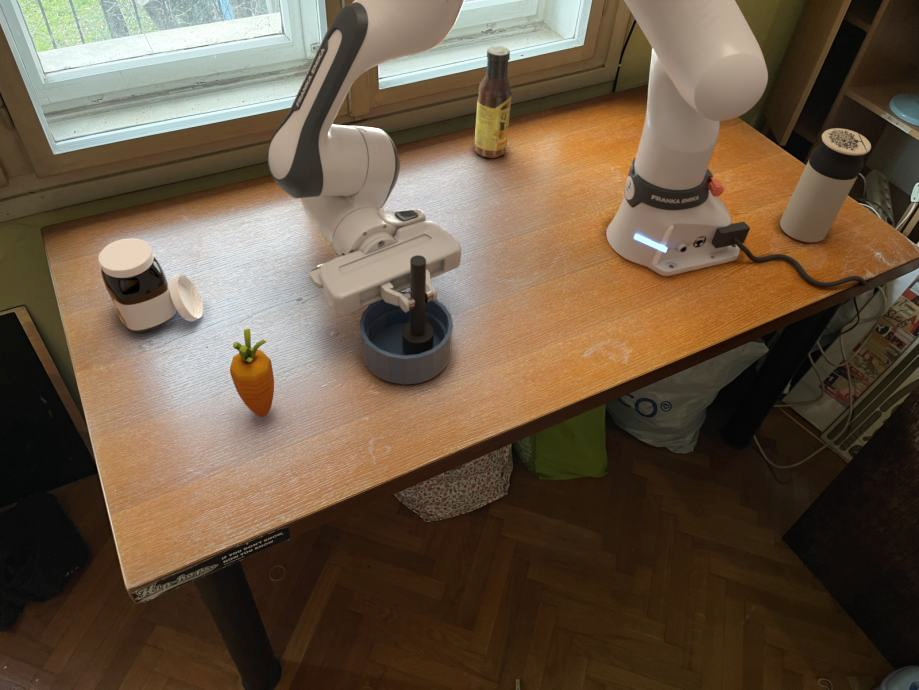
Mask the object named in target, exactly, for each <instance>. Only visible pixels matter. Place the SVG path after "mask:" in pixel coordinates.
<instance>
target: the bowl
mask: <svg viewBox="0 0 919 690" xmlns="http://www.w3.org/2000/svg"><path fill="white" fill-rule="evenodd" d="M399 293H401V294H406V293H409V294H410V291H400V292H399ZM408 322H411V310H410V311H408V312H406V313H405V312H404V311H403V310H402V309H401V307H400V306H396V305H393V304H390V303H387V302H385V301H384V300H383V299H381V300H379V301H376V302H374V303H372V304H369V305H367V307H366V308H365V309H364V310H363V312H362V313H361V316H360V319H359V322H358V325H359V336H360V337H359V338H360V348H361V349H360V350H361V359H362V361H363V363H364V365H365V366H366V368H367V369H368V371H370V373H372V374H373V375H374V376H376V378H379V379H381V380H384V381H387V382H388V383H393V384H399V385H413V384H420V383H423V382H426V381H429V380H431V379H433V378H435V377H436V376H438V375H439V374H440V373H442V372H443V371H444V370H445V368H446V367H447V365H448V364H449V363H450V360H451V355H452V351H453V333H454V323H453V318H452V315H451V313H450V311H449V310H448V308H447V307H446V306H445V305H444V304H443V303H441V302H440V301H439V300H438V299H436V300H433V301H431V302H429V303H426V304H425V322H427V323H429V324H430V325H431V326H432V327H433V330H434V339H433V349H431V350H429V351H426V352H423V353H420V354H415V355H407V354H406V353H405V352H404V351H403V348H402V329H403V327H404V326H405V325H406V324H407V323H408Z"/></svg>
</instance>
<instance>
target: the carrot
mask: <svg viewBox="0 0 919 690" xmlns="http://www.w3.org/2000/svg"><path fill="white" fill-rule="evenodd" d="M243 339H244V344H241V343H240V342H238V341H235V342H233V343H232V348H233V349H235V350H236V351H238V353H237V354H235V355H234V356H233V357H232V360H231V363H230V367H229V373H230V377H231V379H232V383H233V385H234V387H235V390H236V392H237V394H238V396H239V398H240V400H242V402H243V404H244V405H245V406H246V407H247V408H248V409H249V410H250V411H251V412H252V413H253V414H254V415H255V416H257V417H259V418H265V417H266V416H268V414H269V412H270V411H271V409H272V404H273V400H274V394H275V393H274V392H275V378H274V370H273V365H272V360H271V359H270V357H269V356H268V355H267V354H265V352H264V351H263V350H261V349H260V347H262V346H263V345H265V344H266V343H267V340H265V339H261V340H259V341H257V342H256V343H255V344H254V345H253V347H252V340H251V339H252V337H251V328H245V329H243Z"/></svg>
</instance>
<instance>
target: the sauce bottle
mask: <svg viewBox="0 0 919 690" xmlns="http://www.w3.org/2000/svg"><path fill="white" fill-rule="evenodd" d="M510 55H511V51H510V49H509V48H507V47H505V46H502V45H492V46H490V47H488V48H487V51H486V59H487V60H486V61H487V62H486V69H485V73H486V74H485V75H484V77H483V78H482V79H481V81H480V83H479V85H478V97H477V102H476V115H475V128H474V129H475V130H474V151H475V152H476V153H477V155H479V156H481V157H482V158H483V157H484V158H488V159H489V158H490V159H495V158H499V157H501V156H502V155H504V154H505V152H506V146H507V142H508V134H509V125H510V114H511V106H512V105H511V104H512V96H513V92H512V89H511V85H510V80H509V77H508V69H509V68H508V67H509V61H510V57H511V56H510Z"/></svg>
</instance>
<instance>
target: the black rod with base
mask: <svg viewBox="0 0 919 690" xmlns="http://www.w3.org/2000/svg"><path fill="white" fill-rule="evenodd" d="M409 289H410V290H409V292H410V295H411V297H413V298H414V300H415V309H412V310H411V322H408V323H407V324H406V325H405V326H404V327H403V329H402V348H403V351H404V352H405V353H406V354H407V355H415V354H420V353H423V352H426V351H429V350H431V349H433V339H434V330H433V327H432V326H431V325H430V324H429V323H427V322H425V304H426V259H425V258H424V257H423V256H420V255H416V256H413V257H412V258H411V259H410V288H409Z"/></svg>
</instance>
